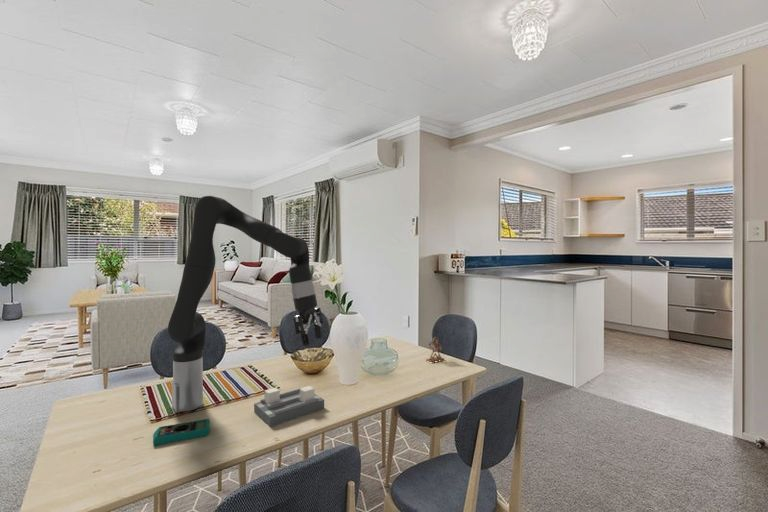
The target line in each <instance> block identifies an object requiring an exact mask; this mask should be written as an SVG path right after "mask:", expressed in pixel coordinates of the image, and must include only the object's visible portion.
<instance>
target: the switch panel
mask: <svg viewBox="0 0 768 512" xmlns="http://www.w3.org/2000/svg"><path fill="white" fill-rule="evenodd" d="M301 388H302V387H300V388H296V389H292V390H290V391H286V392H283V393H280V401H277V402H274V403H271V404H267V403H265V398H261V399H260V401H258V402H254V403H253V412H254V413H255V415H257V416H258V417H259V418H260V419H261V420H262V421H263V422H264V423H265V424H266V425H267V426H268V427H273V426H277V425H279V424H283V423H285V422H288V421H291V420H294V419H297V418H300V417H303V416H306V415H309V414H312V413H315V412H317V411H321V410H323V409H325V399H324V398H323V397H320V396H319V395H317V394H316V393H314V399H311V400H308V401H305V402H302V401H301V400H300V389H301Z"/></svg>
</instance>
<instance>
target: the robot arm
mask: <svg viewBox="0 0 768 512" xmlns="http://www.w3.org/2000/svg"><path fill="white" fill-rule="evenodd" d="M194 207H195V208H194V213H193V221H192V222H193V224H192V229H191V231H192V232H191V237H190V241H189V246H188V251H187V255H186V259H185V264H184V267H183V272H182V278H181V281H180V285H179V289H178V293H177V299H176V300H175V304H174V308H173V311H172V313H171V316H170V318H169V322H168V326H167V333H168V334H167V335H168V336H169V338H170V339H171V340H172V341H173V342H175V343H178V345H177V346H176V348H175V350H173V352H172V380H171V407H172V409H173V410H174V412H175V413H178V412H179V413H180V412H182V413H183V412H189V411H193V410H196V409H198V408H200V407H201V406H202V405H203V404H204V387H203V386H204V385H203V383H204V381H203V380H204V378H203V377H204V373H203V368H204V367H203V366H204V365H203V363H204V362H203V358H204V357H203V355H204V354H203V352H204V350H205V347H206V332H207V331H206V328H207V327H206V321H205V318H204V316H203V315H202V314H201V313H199V311H198V312H197V310H198V306H199V303H200V302H201V300H202V297H204V295H205V293H206V291H207V290H208V288H209V286H210V285H211V282H212V279H213V276H214V271H215V267H216V253H215V248H214V247H215V246H214V244H213V243H214V241H213V240H214V233H215V229H216V226H217V225H218V224H219V225H225V226H228V227H232V228H234V229H236V230H238V231H241V232H242V233H243V234H245V235H246V236H248V237H249V238H250V239H252V240H254V241H256V242H257V243H260V244H262V245H264V246H267V247H269V248H271V249H272V250H274V251H276V252H278V253H279V254H280V255H282V256H284V257H287V258H289V259H290V267H289V268H288V274H289V275H288V276H289V280H290V284H291V286H290V287H291V295H292V300H293V303H294V304H293V305H294V310H295V311H297V312H298V315H294V316H293V323H294V330H295V335H300V336H301V342H302V345H303V346H304V347H306V346H308V347H309V345H311V342H310V338H309V337H310V336H309V334H308V332H309V328H310V327H311V326H313V327H314V328H313V331H314V335H315V338H316V339H321V338H323V333H322V328H321V327H322V325H323V324H324V319H323V315H322V310H321V309H322V308H321V307H318V301H317V297H316V290H315V286H314V283H313V278H312V274H311V269H310V249H309V246H308V243H307V242H306V240H305V239H303V238H302V237H295V236H291V235H289V234H287V233H285V232H283V231H282V230H281V229H280V228H278V227H276V226H274V225H271V224H269V223H267V222H265V221H263V220H260V219H258V218H255V217H254V216H251V215H249V214H248V213H245V212H244V211H242V210H240V209H239V208H237V207H236V206H234V205H233V204H232V203H230V202H228V200H226V199H224V198H222V197H218V196H214V195H208V194H206V195H204V196H201V197H200V198H199V199H198V201H197V202H196V205H195V206H194Z"/></svg>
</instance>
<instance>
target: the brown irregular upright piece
mask: <svg viewBox="0 0 768 512" xmlns="http://www.w3.org/2000/svg"><path fill="white" fill-rule="evenodd" d="M439 341H440V339H439V337H436V336H434V337H433V338H432V340H431V341H429V342H428V346H429V348H431V349H432V352H431V355H430V357H429V358H427V359H425V360H426V361H425V362H427V361H429V362H435V361H439V360H444V361H445V358H444V357H442V356H441V354H440V351H441V350H442V349H443V345H442V344H441V343H439ZM438 345H439V346H438ZM432 346H433V347H432ZM436 352H437V353H436ZM437 354H438V355H437ZM429 362H428V363H429ZM435 363H436V362H435Z"/></svg>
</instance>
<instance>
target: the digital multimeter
mask: <svg viewBox="0 0 768 512" xmlns="http://www.w3.org/2000/svg"><path fill="white" fill-rule="evenodd" d="M210 429H211V420H210V419H208V418H204V419H200V420H199V419H198V420H194V421H188V422H182V423H176V424H169V425H163V426H159V427H158V428H156V430H155V431H154V433H153V435H152V437H153V438H152V439H153V440H152V443H153V446H160V445H166V444H170V443H175V442H180V441H186V440H192V439H198V438H203V437H208V436H209V434H210Z"/></svg>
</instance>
